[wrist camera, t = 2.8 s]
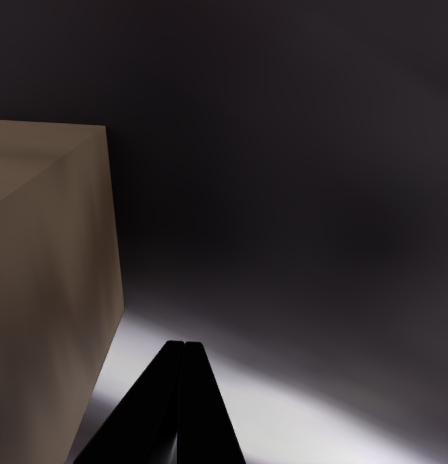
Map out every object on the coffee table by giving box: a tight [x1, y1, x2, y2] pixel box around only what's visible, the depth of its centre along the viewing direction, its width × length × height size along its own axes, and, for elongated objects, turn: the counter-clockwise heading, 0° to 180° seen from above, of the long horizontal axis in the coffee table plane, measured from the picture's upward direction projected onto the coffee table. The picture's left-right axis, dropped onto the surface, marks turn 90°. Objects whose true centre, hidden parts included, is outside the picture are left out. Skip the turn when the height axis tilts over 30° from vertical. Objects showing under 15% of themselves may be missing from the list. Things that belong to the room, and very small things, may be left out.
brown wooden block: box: [0, 120, 125, 464], centre depth 10 cm, size 8×4×9 cm, turn 177°
